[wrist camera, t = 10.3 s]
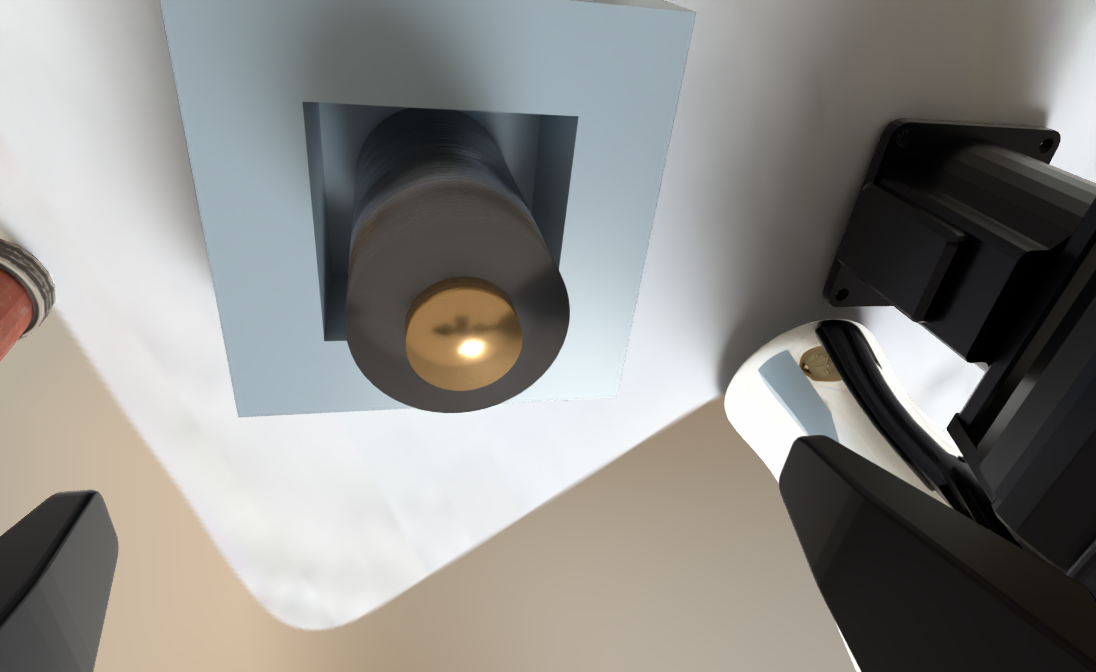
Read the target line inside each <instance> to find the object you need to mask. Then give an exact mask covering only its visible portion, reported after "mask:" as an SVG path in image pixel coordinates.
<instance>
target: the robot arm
mask: <svg viewBox="0 0 1096 672" xmlns="http://www.w3.org/2000/svg"><path fill="white" fill-rule="evenodd" d="M901 132H903V135H902V137H901V139H900V140H898V141H897V142H896V140H897V137H898V136H899V134H900V133H901ZM1041 143H1042V144H1041ZM1059 143H1060V134H1059V132H1057V131H1055V130H1052V129H1049V128H1046V127H1039V126H1022V125H1005V124H988V123H971V122H954V121H937V120H921V119H904V118H901V119H896V120H894V121H892V122H891V123H890V124H889V125H888V126H887V127H886V128H885V129H884V131H883V133H882V135H881V138H880V141H879V143H878V146H877V149H876V151H875V154H874V157H873V159H872V162H871V165H870V167H869V170H868V172H867V175H866V178H865V180H864V183H863V186H862V188H861V191H860V194H859V196H858V199H857V202H856V204H855V207H854V210H853V212H852V215H851V218H850V220H849V223H848V226H847V228H846V231H845V234H844V236H843V239H842V242H841V244H840V247H839V250H838V252H837V255H836V257H835V260H834V263H833V265H832V268H831V271H830V273H829V276H828V279H827V281H826V284H825V287H824V289H823V297H824V298H825V299H826V300H827V301H828V302H829V303H830V304H831V305H832V306H835V307H856V306H894V307H896V308H897V309H898V310H899V311H901V312H902V313H903V314H904V315H906V316H907V317H908V318H909V319H911V320H912V321H914V322H916V323H919V324H920V325H921V326H923V327H924V328H925V329H926V330H928V331H929V332H930V333H931V334H933V335H934V336H935V337H936V338H938V339H939V340H940V341H942V342H943V343H944V344H945V345H947V346H948V347H949V348H950V349H952V350H953V351H954V352H955V353H957V354H958V355H959V356H960V357H962V358H963V359H964V360H965V361H967V362H970V363H974V364H976V365H977V366H978V367H979V368H981V369H982V370H983V371H984V372H985V374H984V376H983V377H982V379H981V380H980V382H979V384H978V385H977V387H976V388H975V390H974V392H973V393H972V395H971V396H970V398H969V399H968V401H967V403H966V404H965V406H964V407H963V409H962V411H961V412H960V413H956V414H955V415H954V417H953V419H952V420H951V422H950V423H949V425H948V427H947V431H948V432H949V434H950V436H951V437H952V439H953V441H954V442H955V444H956V445H957V447H958V449H959V450H960V452H961V454H962V455H963V457H964V459H965V460H966V462H967V464H968V465H969V467H970V469H971V470H972V472H973V473H974V475H975V477H976V478H977V480H978V482H979V483H980V485H981V487H982V488H983V490H984V492H985V493H986V495H987V496H988V498H989V500H990V501H991V503H992V508H993V510H994V512H995V514H996V516H997V517H998V519H999V520H1000V521H1001V522H1002V523H1003V524H1004V525H1005V526H1006V528H1007V529H1008V530H1009V532H1010V533H1011V534H1012V536H1013V537H1014V538H1015V540H1016V541H1017V542H1018V543H1019V544H1020V545H1021V546H1022V548H1023V549H1024V550H1023V549H1021V548H1020V547H1018V546H1016V545H1015V544H1013V543H1011V542H1009V541H1008V540H1006V539H1004V538H1002V537H1001V536H999V535H997V534H996V533H994V532H992V531H990V530H989V529H987V528H985V527H983V526H982V525H980V524H978V523H977V522H975V521H973V520H971V519H970V518H968V517H966V516H964V515H963V514H961V513H959V512H958V511H956V510H954V509H952V508H951V507H949V506H947V505H945V504H944V503H942V502H940V501H939V500H937V499H935V498H933V497H932V496H930V495H928V494H926V493H925V492H923V491H921V490H920V489H918V488H916V487H914V486H913V485H911V484H909V483H907V482H906V481H904V480H902V479H901V478H899V477H897V476H895V475H894V474H892V473H890V472H888V471H887V470H885V469H883V468H882V467H880V466H878V465H876V464H875V463H873V462H871V461H869V460H868V459H866V458H864V457H863V456H861V455H859V454H857V453H856V452H854V451H852V450H851V449H849V448H847V447H845V446H844V445H842V444H840V443H838V442H837V441H835V440H833V439H832V438H830V437H828V436H825V435H809V436H800V437H798V438H797V439H796V440H795V441H794V442H793V444H792V446H791V449H790V451H789V454H788V456H787V458H786V461H785V463H784V466H783V468H782V471H781V473H780V476H779V489H780V493H781V496H782V498H783V501H784V503H785V506H786V509H787V511H788V513H789V516H790V519H791V521H792V524H793V526H794V529H795V531H796V534H797V536H798V539H799V541H800V544H801V546H802V549H803V552H804V554H805V557H806V559H807V562H808V564H809V567H810V569H811V572H812V573H813V576H814V579H815V581H816V583H817V586H818V588H819V590H820V592H821V594H822V596H823V598H824V600H825V602H826V604H827V606H828V608H829V610H830V612H831V614H832V616H833V618H834V620H835V622H836V624H837V626H838V628H839V630H840V632H841V634H842V636H843V637H844V639H845V641H846V643H847V645H848V647H849V649H850V651H851V653H852V655H853V657H854V659H855V661H856V663H857V665H858V667H859V669H860V671H861V672H1096V183H1093V182H1091V181H1088V180H1086V179H1083V178H1081V177H1078V176H1076V175H1073V174H1071V173H1068V172H1066V171H1064V170H1061V169H1059V168H1056V167H1054V166H1051V165H1049V163H1050V161H1051V159H1052V157H1053V156H1054V154H1055V152H1056V150H1057V148H1058V146H1059ZM841 289H842V290H841ZM839 290H841V291H840V293H838V294H837V292H838V291H839ZM836 294H837V295H836ZM117 558H118V539H117V535H116V532H115V529H114V527H113V524H112V521H111V518H110V516H109V513H108V510H107V507H106V504H105V502H104V499H103V497H102V495H101V494H100V493H99V492H98V491H95V490H81V491H67V492H59V493H56V494H54V495H52V496H50V497H49V498H48V499H46V500H45V501H44V502H42V503H41V504H40V505H39V506H38V507H36V508H35V509H34V510H33V511H31V512H30V513H29V514H28V515H26V516H25V517H24V518H23V519H21V520H20V521H19V522H18V523H16V524H15V525H14V526H13V527H11V528H10V529H9V530H8V531H6V533H4V534H3V535H2V536H0V672H93V670H94V666H95V661H96V656H97V652H98V647H99V643H100V638H101V633H102V628H103V624H104V619H105V614H106V610H107V605H108V600H109V595H110V591H111V586H112V582H113V577H114V572H115V567H116V563H117Z"/></svg>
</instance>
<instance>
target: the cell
mask: <svg viewBox="0 0 1096 672" xmlns="http://www.w3.org/2000/svg"><path fill="white" fill-rule="evenodd" d="M569 320H570V304H569V296H568V293H567V289H566V285H565V283H564V281H563V278H562V276H561V274H560V272H559V270H558V267H557V265H556V263H555V261H554V259H553V257H552V255H551V253H550V251H549V249H548V247H547V245H546V243H545V241H544V239H543V237H542V235H541V233H540V231H539V229H538V227H537V225H536V223H535V221H534V219H533V216H532V214H531V212H530V210H529V208H528V206H527V204H526V202H525V200H524V198H523V196H522V194H521V192H520V190H519V188H518V186H517V184H516V182H515V180H514V178H513V176H512V174H511V172H510V170H509V168H508V165H507V163H506V161H505V159H504V157H503V155H502V153H501V151H500V149H499V147H498V145H497V144H496V142H495V140H494V139H493V137H492V136H491V135H490V133H489V132H488V131H487V130H486V129H485V128H484V127H483V126H482V125H481V124H480V123H479V122H477V121H476V120H475V119H473V118H472V117H470V116H468V115H466V114H465V113H463V112H460V111H458V110H450V109H431V108H412V107H410V108H407V109H404V110H401V111H399V112H397V113H394V114H392V115H391V116H389V117H388V118H386V119H384V120H383V121H382V122H381V123H380V124H378V125H377V126H376V127H375V128H374V130H373V131H372V132H371V133H370V134H369V136H368V137H367V139H366V140H365V142H364V144H363V146H362V148H361V150H360V153H359V156H358V160H357V166H356V174H355V188H354V202H353V215H352V229H351V243H350V256H349V270H348V284H347V297H346V311H345V332H346V338H347V343H348V346H349V349H350V352H351V355H352V357H353V359H354V361H355V363H356V365H357V366H358V368H359V369H360V370H361V372H362V373H363V375H364V376H365V377H366V378H367V379H368V380H369V381H370V382H371V383H372V384H373V385H374V386H375V387H376V388H378V389H379V390H380V391H381V392H383V393H384V394H386V395H387V396H389V397H391V398H392V399H394V400H396V401H398V402H401V403H403V404H405V405H408V406H411V407H414V408H417V409H421V410H426V411H431V412H441V413H461V412H470V411H476V410H480V409H485V408H488V407H491V406H494V405H498V404H500V403H502V402H505V401H507V400H509V399H511V398H513V397H515V396H516V395H518V394H520V393H522V392H523V391H525V390H526V389H527V388H529V387H530V386H531V385H533V384H534V383H535V382H536V381H537V380H538V379H539V378H541V377H542V376H543V374H544V373H545V372H546V371H547V370H548V369H549V368H550V366H551V365H552V363H553V362H554V361H555V359H556V358H557V356H558V354H559V352H560V350H561V348H562V346H563V344H564V341H565V338H566V335H567V331H568V327H569Z"/></svg>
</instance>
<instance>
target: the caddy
mask: <svg viewBox="0 0 1096 672" xmlns="http://www.w3.org/2000/svg"><path fill="white" fill-rule="evenodd" d="M160 4H161V10H162V15H163V20H164V26H165V31H166V36H167V41H168V47H169V52H170V57H171V63H172V68H173V73H174V79H175V84H176V89H177V94H178V100H179V105H180V110H181V116H182V121H183V126H184V132H185V137H186V142H187V147H188V153H189V158H190V163H191V169H192V174H193V179H194V184H195V190H196V195H197V200H198V206H199V211H200V216H201V222H202V227H203V232H204V237H205V243H206V248H207V253H208V259H209V264H210V269H211V275H212V280H213V285H214V290H215V296H216V301H217V306H218V312H219V317H220V322H221V328H222V333H223V338H224V343H225V349H226V354H227V359H228V365H229V370H230V375H231V381H232V386H233V391H234V396H235V402H236V407H237V412H238V417H253V416H273V415H292V414H311V413H330V412H349V411H368V410H387V409H406V408H414V407H411V406H408V405H405V404H403V403H401V402H398V401H396V400H394V399H392V398H391V397H389V396H387V395H386V394H384V393H383V392H381V391H380V390H379V389H378V388H376V387H375V386H374V385H373V384H372V383H371V382H370V381H369V380H368V379H367V378H366V377H365V376H364V375H363V373H362V372H361V370H360V369H359V368H358V366H357V365H356V363H355V361H354V359H353V357H352V355H351V352H350V349H349V346H348V343H347V338H346V332H345V311H346V297H347V284H348V270H349V256H350V243H351V229H352V215H353V202H354V188H355V174H356V166H357V160H358V156H359V153H360V150H361V148H362V146H363V144H364V142H365V140H366V139H367V137H368V136H369V134H370V133H371V132H372V131H373V130H374V128H375V127H376V126H377V125H378V124H380V123H381V122H382V121H383V120H384V119H386V118H388V117H389V116H391V115H392V114H394V113H397V112H399V111H401V110H404V109H407V108H410V107H412V108H431V109H450V110H458V111H460V112H463V113H465V114H466V115H468V116H470V117H472V118H473V119H475V120H476V121H477V122H479V123H480V124H481V125H482V126H483V127H484V128H485V129H486V130H487V131H488V132H489V133H490V135H491V136H492V137H493V139H494V140H495V142H496V144H497V145H498V147H499V149H500V151H501V153H502V155H503V157H504V159H505V161H506V163H507V165H508V168H509V170H510V172H511V174H512V176H513V178H514V180H515V182H516V184H517V186H518V188H519V190H520V192H521V194H522V196H523V198H524V200H525V202H526V204H527V206H528V208H529V210H530V212H531V214H532V216H533V219H534V221H535V223H536V225H537V227H538V229H539V231H540V233H541V235H542V237H543V239H544V241H545V243H546V245H547V247H548V249H549V251H550V253H551V255H552V257H553V259H554V261H555V263H556V265H557V267H558V270H559V272H560V274H561V276H562V278H563V281H564V283H565V285H566V289H567V293H568V296H569V304H570V320H569V327H568V331H567V335H566V338H565V341H564V344H563V346H562V348H561V350H560V352H559V354H558V356H557V358H556V359H555V361H554V362H553V363H552V365H551V366H550V368H549V369H548V370H547V371H546V372H545V373H544V374H543V376H542V377H541V378H539V379H538V380H537V381H536V382H535V383H534V384H533V385H531V386H530V387H529V388H527V389H526V390H525V391H523V392H522V393H520V394H518V395H516V396H515V397H513V398H511V399H509V400H507V401H505V402H502V403H521V402H540V401H559V400H578V399H597V398H616V397H617V395H618V390H619V385H620V380H621V375H622V370H623V365H624V361H625V356H626V351H627V346H628V341H629V336H630V331H631V327H632V322H633V317H634V312H635V307H636V302H637V297H638V292H639V288H640V283H641V278H642V273H643V268H644V263H645V258H646V254H647V249H648V244H649V239H650V234H651V229H652V224H653V219H654V215H655V210H656V205H657V200H658V195H659V190H660V185H661V181H662V176H663V171H664V166H665V161H666V156H667V151H668V146H669V142H670V137H671V132H672V127H673V122H674V117H675V112H676V108H677V103H678V98H679V93H680V88H681V83H682V78H683V73H684V69H685V64H686V59H687V54H688V49H689V44H690V39H691V35H692V30H693V25H694V20H695V15H696V12H693V11H691V10H688V9H685V8H683V7H680V6H677V5H675V4H672V3H669V2H667V1H664V0H160ZM502 403H500V404H502Z"/></svg>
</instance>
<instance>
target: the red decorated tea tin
mask: <svg viewBox="0 0 1096 672" xmlns="http://www.w3.org/2000/svg"><path fill="white" fill-rule="evenodd" d="M54 303H55V287H54V284H53V282H52V280H51V278H50V275H49V273H48V272H47V270H46V269H45V268H44V267H43V266H42V265H41V264H40V262H39V261H38V260H37V259H36V258H35V257H33V256H32V255H31V254H29V253H28V252H26V251H25V250H24V249H22V248H21V247H19V246H17V245H14V244H12V243H9V242H7V241H5V240H2V239H0V361H1V360H2V358H3V357H4V356H5V355H6V353H7V352H8V351H9V350H10V348H11V347H12V346H13V345H14V343H15V342H16V341H17V340H19V339H22V338H24V337H26V336H28V335H29V334H31V333H32V332H34V331H35V330H36V329H37V328H38V327H39V326H40V324H41V323H42V322H43V321H44V319H45V318H46V317H47V315H48V314H49V313H50V311H51V309H52V307H53V305H54Z"/></svg>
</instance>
